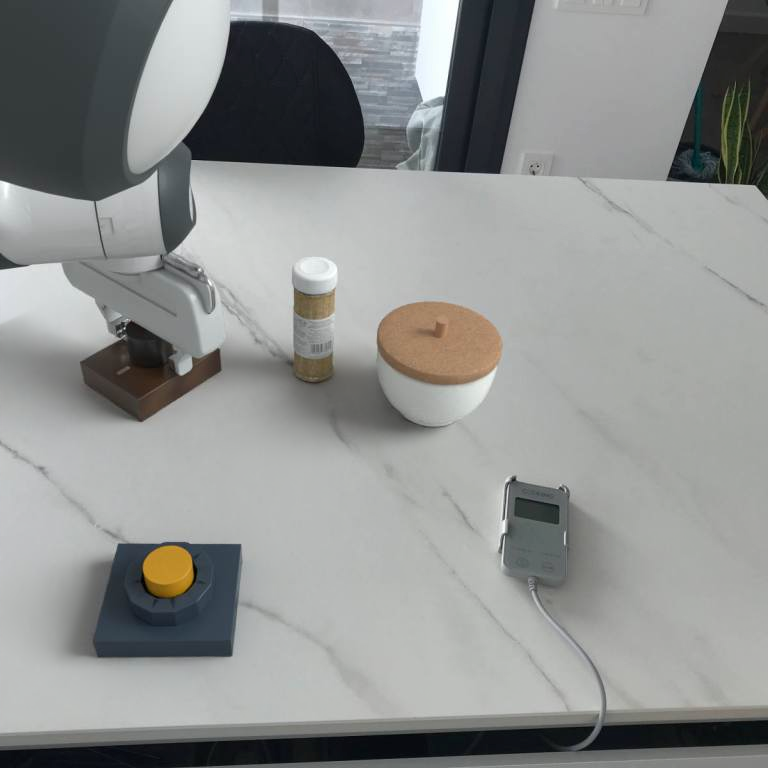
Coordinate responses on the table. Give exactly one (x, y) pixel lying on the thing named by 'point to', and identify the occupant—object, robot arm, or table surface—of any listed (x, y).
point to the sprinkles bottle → (313, 317)
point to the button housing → (170, 605)
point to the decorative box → (436, 361)
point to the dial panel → (143, 379)
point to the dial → (146, 346)
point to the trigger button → (168, 571)
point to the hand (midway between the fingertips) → (150, 351)
